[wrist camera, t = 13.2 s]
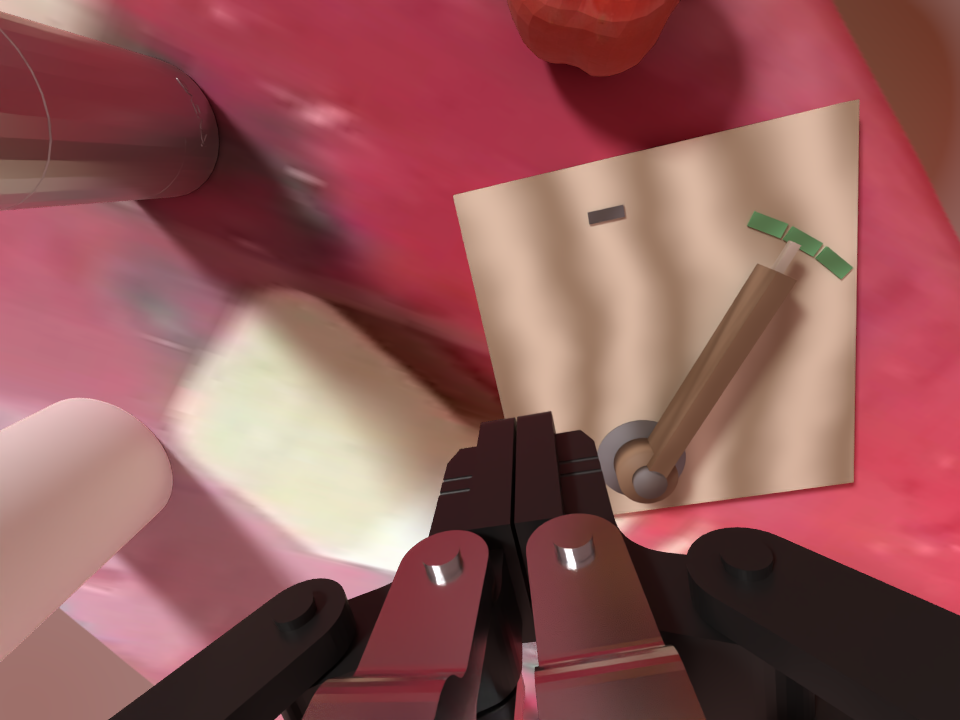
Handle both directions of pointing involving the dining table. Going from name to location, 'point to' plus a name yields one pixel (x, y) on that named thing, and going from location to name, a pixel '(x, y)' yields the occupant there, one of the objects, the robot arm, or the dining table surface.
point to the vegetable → (591, 31)
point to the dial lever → (703, 384)
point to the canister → (70, 503)
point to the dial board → (682, 299)
